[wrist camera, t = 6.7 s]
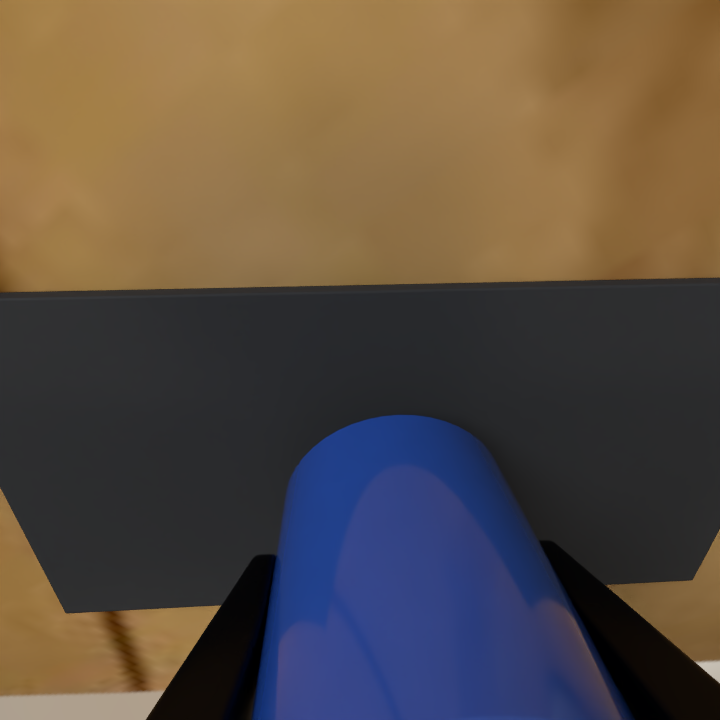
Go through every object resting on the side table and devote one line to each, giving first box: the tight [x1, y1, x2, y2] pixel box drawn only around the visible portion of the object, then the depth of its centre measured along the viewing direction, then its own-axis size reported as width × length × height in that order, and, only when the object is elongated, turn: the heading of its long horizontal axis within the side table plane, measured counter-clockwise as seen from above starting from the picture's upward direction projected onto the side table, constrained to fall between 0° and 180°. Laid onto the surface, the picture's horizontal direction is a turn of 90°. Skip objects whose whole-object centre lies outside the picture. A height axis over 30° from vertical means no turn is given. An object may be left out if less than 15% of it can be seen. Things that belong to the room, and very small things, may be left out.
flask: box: [251, 415, 635, 720], centre depth 6 cm, size 5×5×8 cm
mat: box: [0, 278, 720, 613], centre depth 11 cm, size 20×10×1 cm, turn 90°
